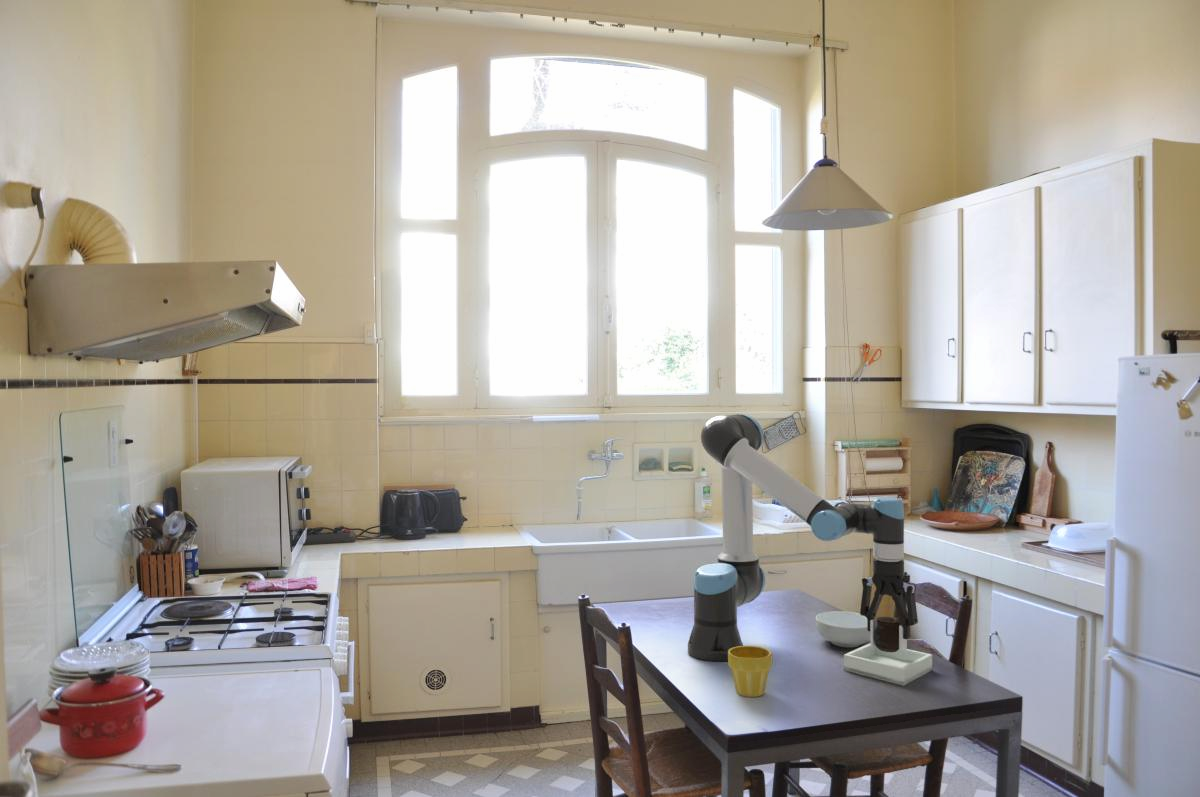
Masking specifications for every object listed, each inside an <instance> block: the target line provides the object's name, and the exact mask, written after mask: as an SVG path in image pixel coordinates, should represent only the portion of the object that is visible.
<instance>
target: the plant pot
mask: <svg viewBox="0 0 1200 797" xmlns="http://www.w3.org/2000/svg"><path fill="white" fill-rule="evenodd" d="M772 655H773V654H772V652H771V651H770V650H769V649H768V648H765V647H762V646H758V645H757V646H756V645H743V646H737V647H733V648H731V649H729V651H728V662H727V664H728V667H729V668H730V669H731V673H732V678H733V682H734V688H735V692H736V693H737V694H738V695H739V696H742V697H748V698H757V697H761V696H763V695H764V694H765V691H766V687H767V680H768V675H769V671H770V669H771V668H772V665H773V664H772V663H773V662H772V661H773V656H772Z"/></svg>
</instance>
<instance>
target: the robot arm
mask: <svg viewBox="0 0 1200 797" xmlns="http://www.w3.org/2000/svg"><path fill="white" fill-rule="evenodd" d="M700 440H701V444H702V448H703V449H704V450H705V452H706V453H707V454H708V455H709V456H710V457H711V458H712V459H713V460H715V461H716V463H717V465H719V467H720V468H721V489H722V491H721V495H722V496H721V499H722V500H721V501H722V503H721V504H722V506H721V507H722V509H721V510H722V512H721V513H722V551H721V553H719V554H718V555H717V562H713V563H711V564H708V563H707V564H704V565H701V566H699V567H698V568H697V569H696V571H694V578H693V579H694V580H693V613H694V614H693V616H694V618H693V627H692V630H691V632H690V635H689V639H688V642H687V653H688V655H690V656H691V657H693V658H695V659H699V660H703V661H710V662H727V661H728V651H729V649H731V648H733V647H737V646H744V644H743V642H742V638H741V635H740V631H739V630H740V629H739V627H738V608H739V607H741V606H743V605H746V604H748V603H751V602H753V601H754V600H755V599H757V598H758V597H760V595H761V594H762V593H763V591H764V589H765V586H766V575H765V572H764V569H763V568H762V567H761V565H760V558H759V555H758V554H757V553H756V552H755V551H754V524H753V523H754V519H753V518H754V517H753V516H754V515H753V514H754V513H753V511H754V510H753V509H754V508H753V506H754V505H753V504H754V503H753V502H754V501H753V484H754V485H755V486H756V487H758V489H760V490H761V491H762V492H764V493H766V494H767V495H768V496H770V497H771V498H772V499H774V500H775V501H776V502H777V503H779V504H780V505H782V506H783V507H784V508H786V509H787V510H788V511H790V512H791V513H793V515H795V516H796V517H798V518H799V519H800V520H802V521H803V522H804V523H806V524H807V525H808V526H810V528H811V531H812V533H813V535H814V537H816V538H817V539H819V540H821V541H823V542H830V541H837V540H839V539H840V538H842V537H844V536H847V535H850V534H852V533H859V534H867V535H870V534H872V537H873V538H872V542H873V543H872V556H873V557H874V558H873V559H872V570H873V575H872V577H870V576H866V577H863V578H861V583H862V594H861V601H860V604H861V605H860V611H859V614H861V615H862V616H865V617H866V618H867V629H868V631H870V642H869V643H870V645H872V646H874V645H875V642H874V638H873V635H874V631H875V629H876V627H877V618H878V617H877V613H878V610H879V608H880V605H881V602H882V600H883V598H884V596H885V595H886V596H889V597H891V599H892V600H893V601H894V605H895V608H896V610H897V613H898V618H899V617H900V619H899V621H900V622H901V623H900V624H901V625H899V652H904V651H906V650H907V649H908V640H909V639H911V638H910V637H911V626H914V625H917V624H918V623H919V620H918V610H917V602H916V596H915V593H916V589H917V586H916V584H910V583H907V582H906V580H905V577H904V575H905V561H904V558H905V518H906V517H905V509H904V507H905V506H904V502H903V500H901V499H900V498H897V497H890V496H889V497H888V496H887V497H882V496H881V497H880V496H879V497H875V498H873V500H872V504H863V503H853V502H845V501H839V502H837V501H836V502H835V501H834V502H830V503H829V502H828V501H827V500H825V499H824V498H823V497H822V496H820V495H819V494H817V493H816V492H815V491H813V490H812V489H810V488H809V487H808V486H806V485H805V484H803V483H802V482H801V481H799V480H798V479H796V478H795V477H794V476H792V475H791V474H790V473H789V472H787V471H786V470H784V469H783V468H781V467H780V466H778V465H777V464H776V463H774V462H773V461H772V460H770V459H769V458H767V457H766V456H764V455H763V454H762V453H761V452H759V450H760V448H761V447H762V444H763V441H764V431H763V428H762V426H761V424H760V423H759V421H758V420H756V419H755V418H754V417H752V416H750V415H747V414H741V413H740V414H739V413H736V414H725V415H724V414H723V415H716V416H713V417H711V418H710V419H709V420H708V421H706V422H705V423H704V425H703V427H702V430H701V433H700ZM873 585H874V586H875V588H876V589H875V591H874V593H873V598H872V590H873ZM903 589H904V592H905V601H906V603H905V601H904V596H903V592H902V590H903ZM871 598H872V601H871ZM876 617H877V618H876Z"/></svg>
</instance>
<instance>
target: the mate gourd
mask: <svg viewBox="0 0 1200 797" xmlns="http://www.w3.org/2000/svg"><path fill="white" fill-rule="evenodd" d="M900 622H901V620H900V617H899V616H898V617H897V618H896V617H893V616H878V617H877V627H876V629H875V631H874V635H873V638H874V642H875V645H876V647H877V648H878V649H879V650H881V651H884V652H896V651H898V650H899V626H901V625H900V624H901V623H900Z"/></svg>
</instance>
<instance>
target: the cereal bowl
mask: <svg viewBox="0 0 1200 797" xmlns="http://www.w3.org/2000/svg"><path fill="white" fill-rule="evenodd" d="M815 627H816V631H817V632H818V633H819V635H820V636H821V637H822V638H823V639H825V640H827V641H828V642H830V643H831V644H832V645H834V646H837V647H841V648H859V647H860V646H862V645H866V644H869V643H870V631H868V629H867V618H866V617H865V616H862V615H861V614H860V612H859V613H858V612H853V611H844V610H843V611H841V610H839V611H838V610H837V611H835V610H832V611H824V612H821V613H818V614H817V615H816V616H815Z"/></svg>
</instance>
